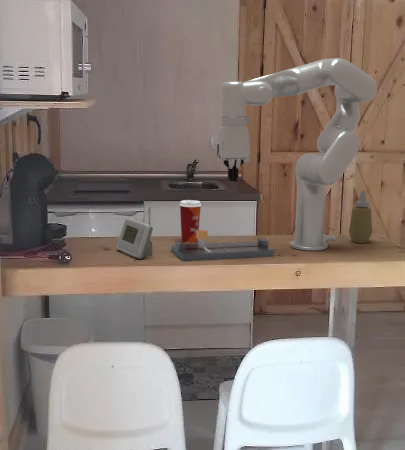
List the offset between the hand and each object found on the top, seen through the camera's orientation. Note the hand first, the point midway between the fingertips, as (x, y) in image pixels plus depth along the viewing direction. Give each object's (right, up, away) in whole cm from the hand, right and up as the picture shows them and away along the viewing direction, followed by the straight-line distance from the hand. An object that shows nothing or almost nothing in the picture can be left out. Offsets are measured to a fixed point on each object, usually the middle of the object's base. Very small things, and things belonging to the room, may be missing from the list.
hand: (232, 180), depth 209 cm
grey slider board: (-3, -23, +3) cm, 24 cm away
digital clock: (-31, -23, 0) cm, 39 cm away
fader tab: (-10, -21, +1) cm, 23 cm away
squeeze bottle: (+46, -20, +26) cm, 57 cm away
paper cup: (-14, -20, +21) cm, 32 cm away
